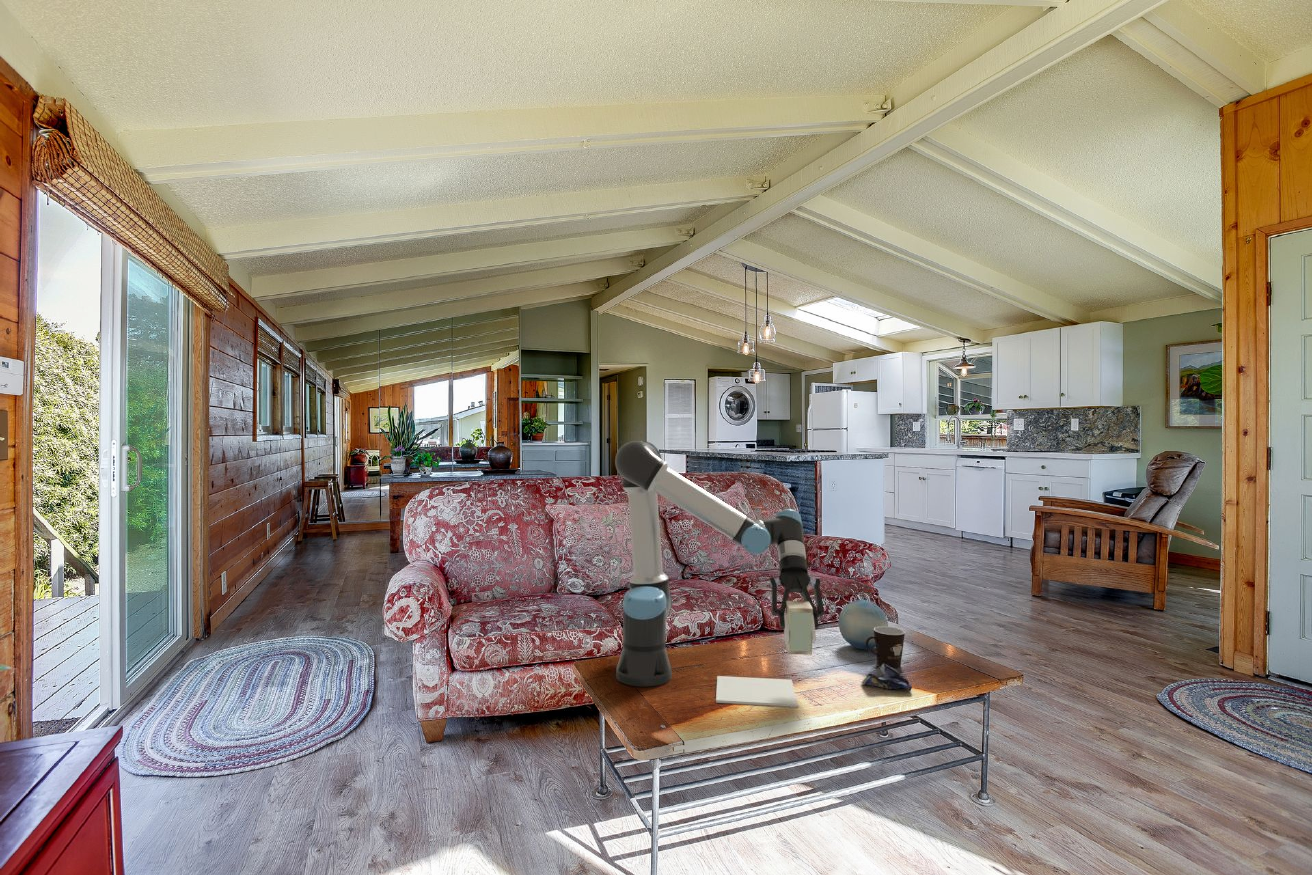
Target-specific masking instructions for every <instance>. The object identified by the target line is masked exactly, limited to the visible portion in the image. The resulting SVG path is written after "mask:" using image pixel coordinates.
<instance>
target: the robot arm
mask: <svg viewBox="0 0 1312 875" xmlns="http://www.w3.org/2000/svg"><path fill="white" fill-rule="evenodd" d="M614 463H615V464H614V465H615V468H616V471H617V472H618V474H619V475H620V476H621V485H622V490H624V492H626V493H627V497H628V498H627V499H628V511H629V513H628V514H629V523H630V526H629V527H630V538H631V539H630V540H631V550H632V552H631V553H632V564H633V566H632V567H633V575H632V576H631V577H630V578H629V580H628V582H629V589H628V590H627V591H626V592H625V593H624V595H623V601H622V609H623V610H622V611H623V612H622V615H623V616H622V617H623V618H622V619H623V620H622V626H623V627H622V628H623V629H622V642H623V643H622V650H621V653H620V656H619V659H618V663H617V666H616V670H615V672H616V673H615V677H616V680H617V681H618V682H620V683H622V684H624V685H627V686H631V687H645V688H647V687H656V686H661V685H664V684H667V683H668V682H670V681H671V679H672V666H671V663H670V660H669V656H668V653H667V650H666V649H667V648H666V624H667V623H666V622H667V619H668V616H669V615H670V613H671V611H672V607H673V595H672V593H671V590H670V580H669V579H670V578H669V576H668V575H667V574H666V573H665V572H664V569H663V557H662V553H663V552H662V541H661V539H662V538H661V528H660V517H659V503H658V501H659V500H658V495H660V496H661V497H663V498H664V499H666V500H668V501H669V502H671V503H672V504H674V505H676V506H677V507H679V508H681V509H682V510H683V511H685V512H686V513H689V515H691V516H693V517H695V518H697V519H698V520H700V521H701V522H703V523H705V524H706V525H708V526H710V527H711V528H713V529H714V530H716V531H717V532H719V533H721V534H723V535H724V536H726V537H727V538H729V540H732V541H733V542H735V544H736V545H737V546H741V547H742V548H743V549H744V550H745V551H746V552H747V553H749V554H751V555H760V554H761V555H762V554H764V553H765V552H767V550H768V549H769V547H770V545H771V546H773V545H775V546H776V545H777V553H778V564H779V577H775V578H774V577H770V578H769V583H768V585H769V587H770V590H771V615H772V616H777V617H778V622H779V624H778V625H779V628H780V629H783V632H784V643H785V642H788V641H789V629H788V618H787V614H786V601H789V600H788V599H789V596H790V594H791V593H792V594H793V593H797V594H800V595H801V597H802V598H803V601H808V602H810V604H811V606H812V608H813V625H812V644H815V643H816V641H817V634H816V631H817V630H818V629H819V626H820V625H819V618H820V617H821V618H822V617H823V615H824V613H825V607H824V602H823V599H822V598H823V597H822V592H821V587H820V585H821V579H820V578H816V579H814V578H811V576H810V575H809V572H808V563H807V553H806V546H805V538H804V524H803V522H802V517H801V514H800V513H799V512H798V511H797V510H794V509H790V508H786V509H783V510H779V511H778V512H776V513H775V517H774V518H750V517H748V516H746V514H743V513H742V512H740V511H739V510H737V509H735V508H734V507H733V506H731V505H730V504H727V503H725V502H724V501H722V500H721V499H720V498H718V497H716V496H714V495H713V494H712V493H710V492H708V491H707V490H705V489H703V488H702V487H700V486H698V485H697V484H695V483H694V482H692V481H691V480H689V479H688V478H685V477H684V476H683V475H681V474H679V473H677V472H676V471H674V470H673V469H671V468H669V465H668V462H667V461H666V460H663V458H662V455H661V452H660V451H659V449H658V448H657V447H656V446H655V445H654V444H652V443H651V442H649V441H646V440H631V441H629V442H626V443H624V444H622V445H621V447H620V448H619V449H618V450H617V452H616V455H615V460H614ZM779 584H780V585H781V586H782V587H783V588H784V593H783V597H782V601H781V604H780V608H778V587H779ZM810 584H811V587H812V589H813V594H814V599H815V604H814V601H813V600H812V596H810V593H809V591H808V586H809V585H810ZM815 605H816V606H815Z"/></svg>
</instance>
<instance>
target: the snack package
mask: <svg viewBox="0 0 1312 875" xmlns="http://www.w3.org/2000/svg"><path fill="white" fill-rule="evenodd" d="M879 669H880V672H881V673H883V675H884V676H883V677H882V676H881V677H878V676H876V674H873V673H868V674H867V675H866V677H865V678H864V679H863V680H862V681H861V684H862V686H865V685H867V686H873V687H879V688H883V689H891V690H896V689H905V690H907V691H910V692H911V691H912V689H913V686H912V685H911V684H910V682H909V681H908V679H907V678H905V677H904V676H902V675H901V672H900V671H898V670H897V668H896V669H894V668H892V667H890V666H889V665H885V664H884V663H883V665H882V666H879Z"/></svg>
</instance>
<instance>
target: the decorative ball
mask: <svg viewBox="0 0 1312 875" xmlns="http://www.w3.org/2000/svg"><path fill="white" fill-rule="evenodd" d="M884 626H885V627H889V621H888V618H887V617H886V613H884V611H883V609H882V608H881V607H880V606H878V605H877V604H875V602H872V601H869V600H864V599H863V600H862V599H859V600H853V601H851V602H849V603H848V604H846V605H845V606H844V607H843V608H842V610H841V611H840V613H839V617H838V629H839V632H840V635H841V636H842V638H843V640H845V641H846V643H848V644H849V645H850V646H852V647H853V648H856V649H859V650H868V648H867V647H866V641H867V639H868V638H869V637H871V636H873V637H874V628H875V627H884ZM868 646H869V648H870V649H871V650H872V649H876V646H875V639H870V640H869V642H868Z"/></svg>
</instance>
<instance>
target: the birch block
mask: <svg viewBox="0 0 1312 875" xmlns="http://www.w3.org/2000/svg"><path fill="white" fill-rule="evenodd" d="M785 614H787V618H788V629H789V641H788V642H785V641H784V646H785V649H786V652H787V654H788V655H809V656H811V655H812V654H813V643H812V625H813V608H812V606H811V604H810V602H808V601H804V600H787V601H786V608H785Z"/></svg>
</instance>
